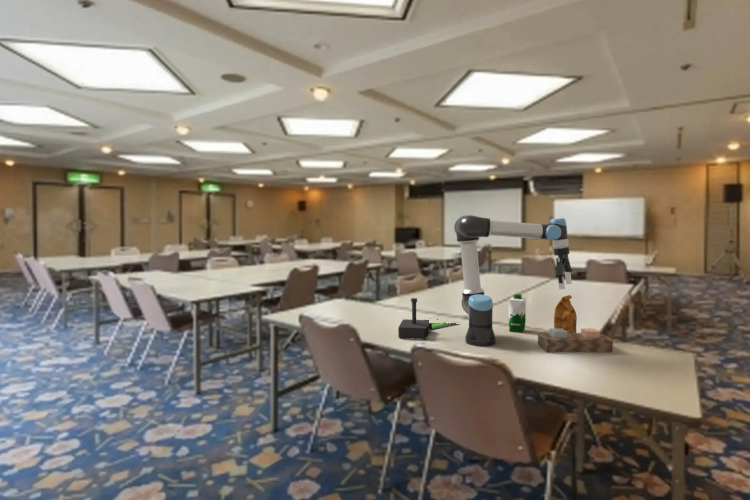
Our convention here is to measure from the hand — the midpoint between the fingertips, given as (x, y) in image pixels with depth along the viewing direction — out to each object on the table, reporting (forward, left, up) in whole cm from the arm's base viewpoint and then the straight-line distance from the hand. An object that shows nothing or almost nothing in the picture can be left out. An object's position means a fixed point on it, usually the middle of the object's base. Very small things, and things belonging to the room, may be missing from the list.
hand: (565, 286), depth 225 cm
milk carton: (-23, +8, -26) cm, 36 cm away
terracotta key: (+1, -26, -22) cm, 34 cm away
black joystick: (-80, 0, -26) cm, 85 cm away
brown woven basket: (-6, -26, -26) cm, 37 cm away
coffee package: (-2, -6, -26) cm, 27 cm away
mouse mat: (-68, +25, -27) cm, 77 cm away
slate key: (-14, -26, -22) cm, 37 cm away
